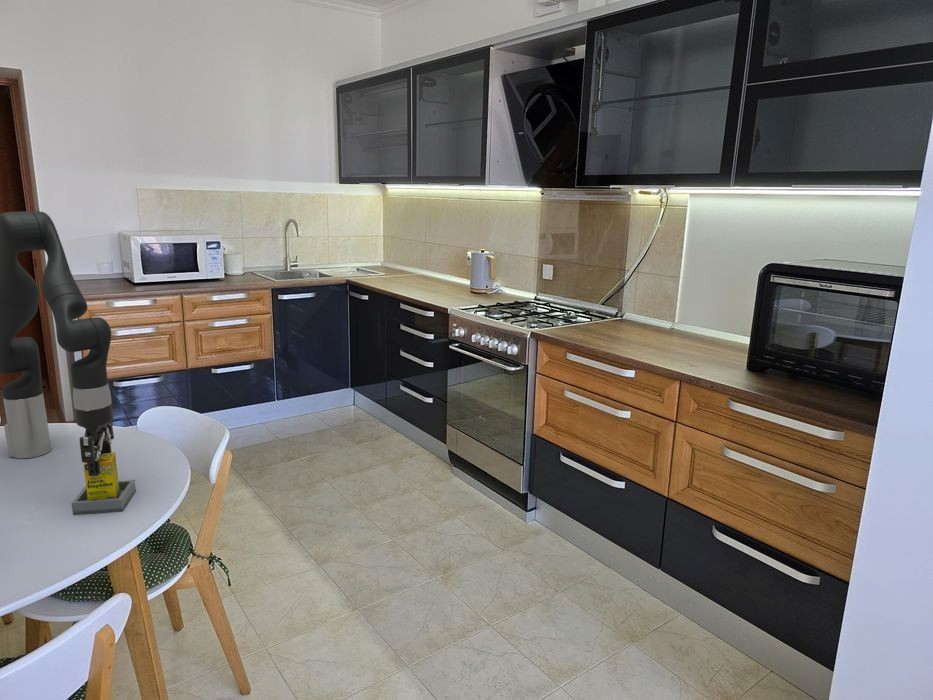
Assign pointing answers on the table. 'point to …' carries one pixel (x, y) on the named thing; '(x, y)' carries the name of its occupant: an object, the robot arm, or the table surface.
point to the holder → (106, 505)
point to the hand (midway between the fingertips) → (100, 467)
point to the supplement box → (103, 479)
